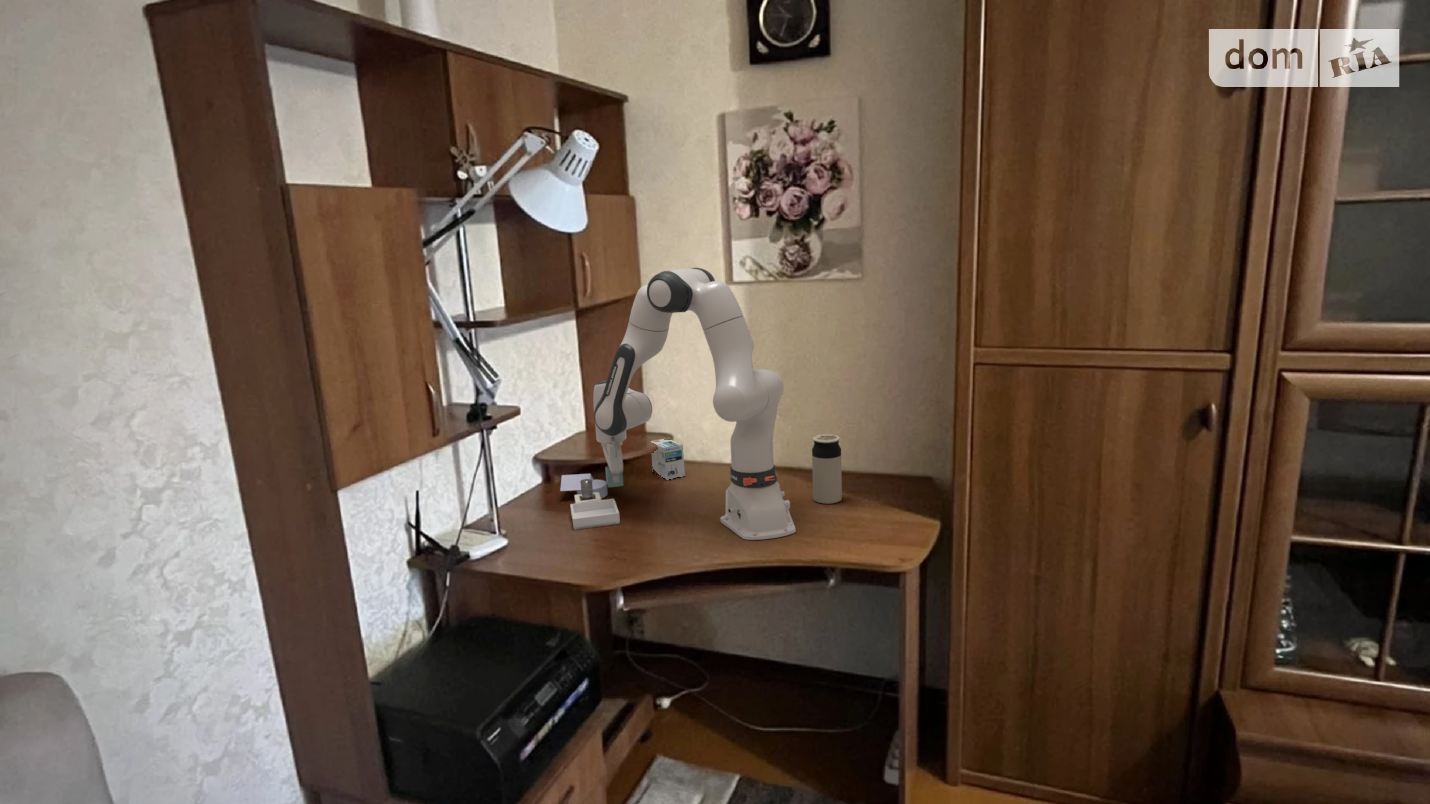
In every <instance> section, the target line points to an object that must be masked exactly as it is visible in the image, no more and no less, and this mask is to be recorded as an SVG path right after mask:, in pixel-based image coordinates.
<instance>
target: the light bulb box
mask: <svg viewBox="0 0 1430 804" xmlns="http://www.w3.org/2000/svg"><path fill="white" fill-rule="evenodd" d="M664 439H665V438H660V439H655V440H650V442H651V443H654V444H656V445H657V447H658V450H656V451H654V453H650V455H651V468H652V467H653V468H652V470H653V469H654V470H655V471H656V472H657V473H658V474H659V475H661V477H660V478H662V477H663V478H665V479H666V480H665V479H664V480H665V481H670V480H669V479H671V480H674V479H673V478H676V477H681V478H684V477H683V476H685V477H686V473H685V472H686V470H685V460H684V458H685V457H684V444H683V443H680V442H678V441H676V440H672V439H671V440H664ZM650 442H649V443H650ZM651 443H650V444H651ZM663 478H662V479H663ZM676 479H677V478H676Z"/></svg>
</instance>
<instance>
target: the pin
mask: <svg viewBox="0 0 1430 804" xmlns="http://www.w3.org/2000/svg"><path fill="white" fill-rule="evenodd" d="M580 483H581V493H582V501H583V500H591V499H593V488H592V480H591V479H583V480H581V481H580Z"/></svg>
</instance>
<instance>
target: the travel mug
mask: <svg viewBox="0 0 1430 804" xmlns="http://www.w3.org/2000/svg"><path fill="white" fill-rule="evenodd" d="M840 440H841V437H840V436H839V435H836V434H831V433H828V434H826V433H824V434H823V433H822V434H817V435H814V436H813V437H812V441H813V447H812V448H811V460H812V461H811V462H812V465H811V466H812V468H811V469H812V500H813V501H815V502H817V503H819V504H824V505H830V504H831V505H832V504H836V503H838V502H841V501H842V499H843V487H842V485H843V483H842V481H843V480H842V479H843V478H842V448H841V446H840V445H839V443H840Z"/></svg>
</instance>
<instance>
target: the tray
mask: <svg viewBox="0 0 1430 804" xmlns="http://www.w3.org/2000/svg"><path fill="white" fill-rule="evenodd" d="M569 506H570V515H571V520H572V526H573V531H576V530H577V531H578V530H583V529H590V528H592V529H593V528H598V527H599V528H601V527H606V526H607V527H608V526H611V525H612V526H614V525H619V524H621V519H620V516H621V515H620V511H619V509H618V506H617V502H616V500H615V498H607V499H601V500H599V501H591V502H583V503H576V504H575V503H570V505H569Z"/></svg>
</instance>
